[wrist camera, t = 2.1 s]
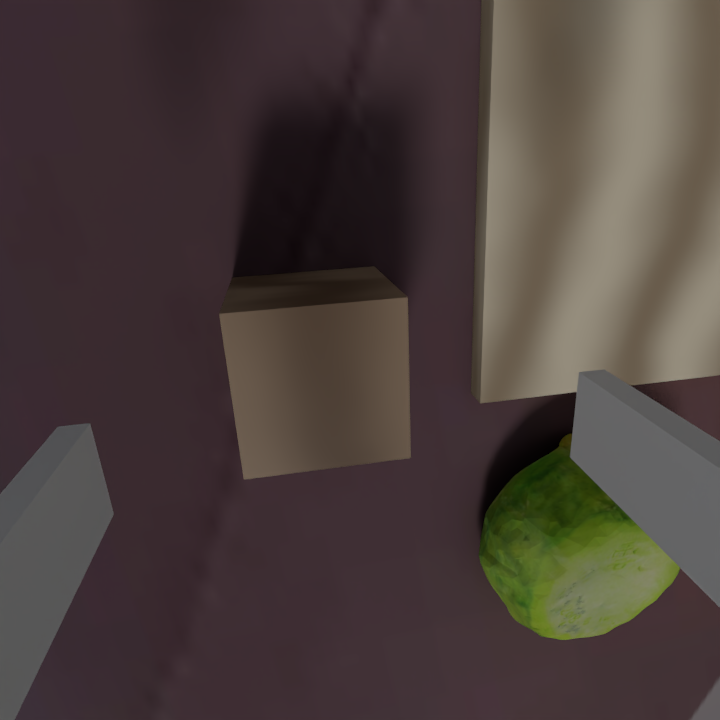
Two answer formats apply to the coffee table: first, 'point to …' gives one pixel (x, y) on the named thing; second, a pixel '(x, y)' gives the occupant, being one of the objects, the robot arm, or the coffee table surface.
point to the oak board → (596, 194)
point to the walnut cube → (317, 369)
